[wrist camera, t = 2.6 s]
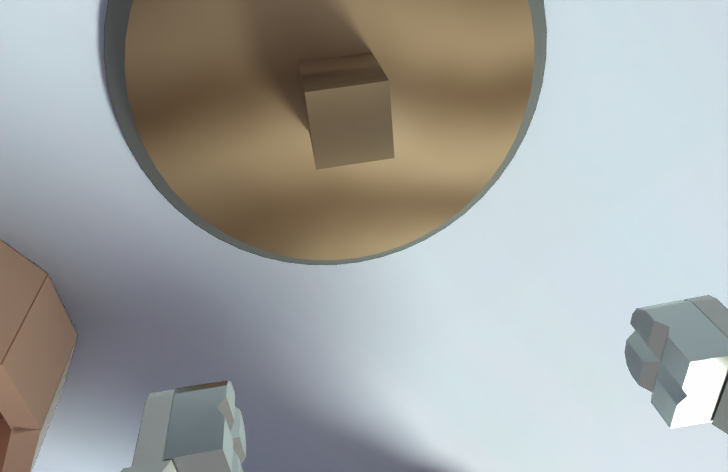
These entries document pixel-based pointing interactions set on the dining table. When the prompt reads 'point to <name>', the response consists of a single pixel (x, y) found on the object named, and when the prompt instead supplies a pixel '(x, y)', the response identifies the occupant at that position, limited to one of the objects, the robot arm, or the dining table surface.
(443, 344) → the dining table surface
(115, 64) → the tray
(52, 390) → the bowl
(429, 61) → the lid
